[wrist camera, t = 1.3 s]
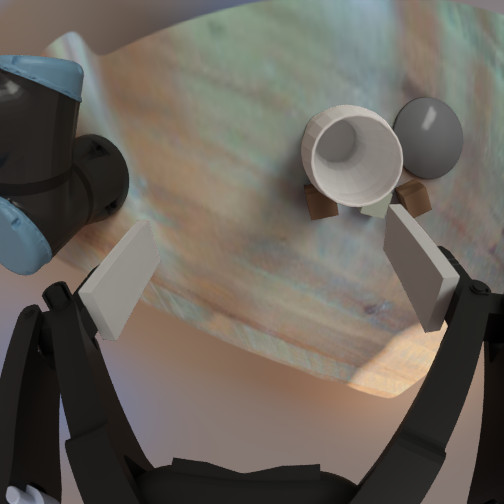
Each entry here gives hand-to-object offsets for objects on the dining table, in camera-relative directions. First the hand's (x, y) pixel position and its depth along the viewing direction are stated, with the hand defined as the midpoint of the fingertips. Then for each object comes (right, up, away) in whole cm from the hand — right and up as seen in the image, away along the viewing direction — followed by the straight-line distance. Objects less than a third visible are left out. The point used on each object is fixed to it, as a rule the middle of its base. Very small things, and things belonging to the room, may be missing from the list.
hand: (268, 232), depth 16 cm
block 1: (+9, +8, +28) cm, 30 cm away
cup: (+10, +15, +23) cm, 30 cm away
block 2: (+17, +8, +27) cm, 33 cm away
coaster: (+26, +16, +21) cm, 37 cm away
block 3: (+24, +8, +26) cm, 37 cm away
